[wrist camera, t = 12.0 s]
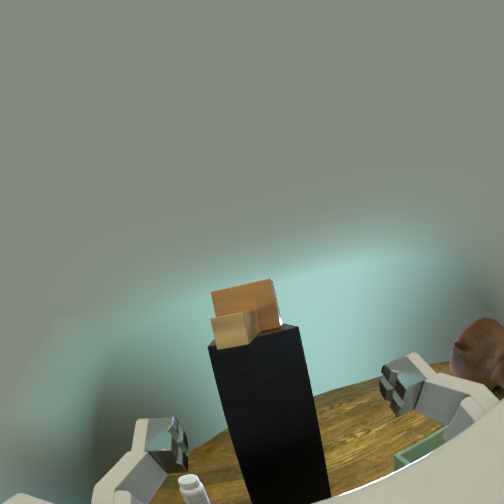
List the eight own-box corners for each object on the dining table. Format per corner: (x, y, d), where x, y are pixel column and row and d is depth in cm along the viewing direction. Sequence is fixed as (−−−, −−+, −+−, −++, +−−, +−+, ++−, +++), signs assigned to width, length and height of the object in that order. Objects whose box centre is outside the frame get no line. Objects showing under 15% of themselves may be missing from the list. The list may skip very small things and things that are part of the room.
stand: (339, 550, 20) (298, 326, 27) (276, 565, 19) (207, 346, 26) (324, 519, 29) (284, 323, 36) (270, 532, 28) (214, 338, 35)
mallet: (277, 338, 21) (261, 267, 22) (191, 354, 22) (177, 287, 23) (282, 323, 36) (272, 281, 37) (229, 334, 36) (220, 293, 37)
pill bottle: (216, 505, 38) (205, 476, 40) (202, 516, 34) (188, 487, 35) (198, 499, 40) (187, 471, 42) (184, 510, 36) (170, 481, 38)
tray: (535, 484, 10) (549, 439, 12) (460, 552, 8) (475, 514, 10) (460, 452, 31) (462, 414, 33) (394, 492, 29) (393, 454, 31)
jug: (447, 384, 63) (490, 435, 33) (433, 333, 64) (487, 375, 35) (495, 350, 59) (548, 385, 30) (485, 298, 60) (548, 319, 31)
